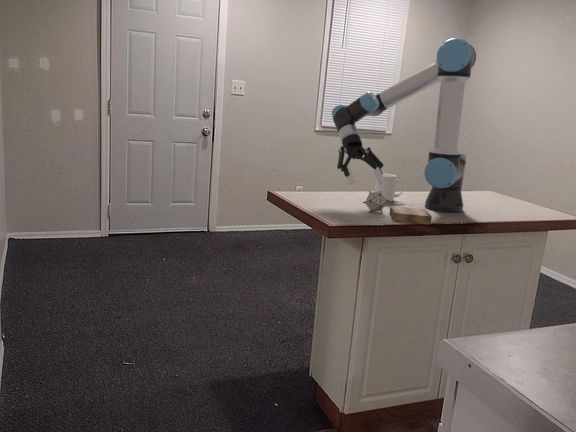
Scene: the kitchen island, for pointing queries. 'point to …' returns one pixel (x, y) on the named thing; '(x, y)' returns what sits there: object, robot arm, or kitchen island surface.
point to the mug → (388, 186)
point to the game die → (375, 201)
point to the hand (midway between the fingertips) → (367, 183)
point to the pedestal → (410, 215)
